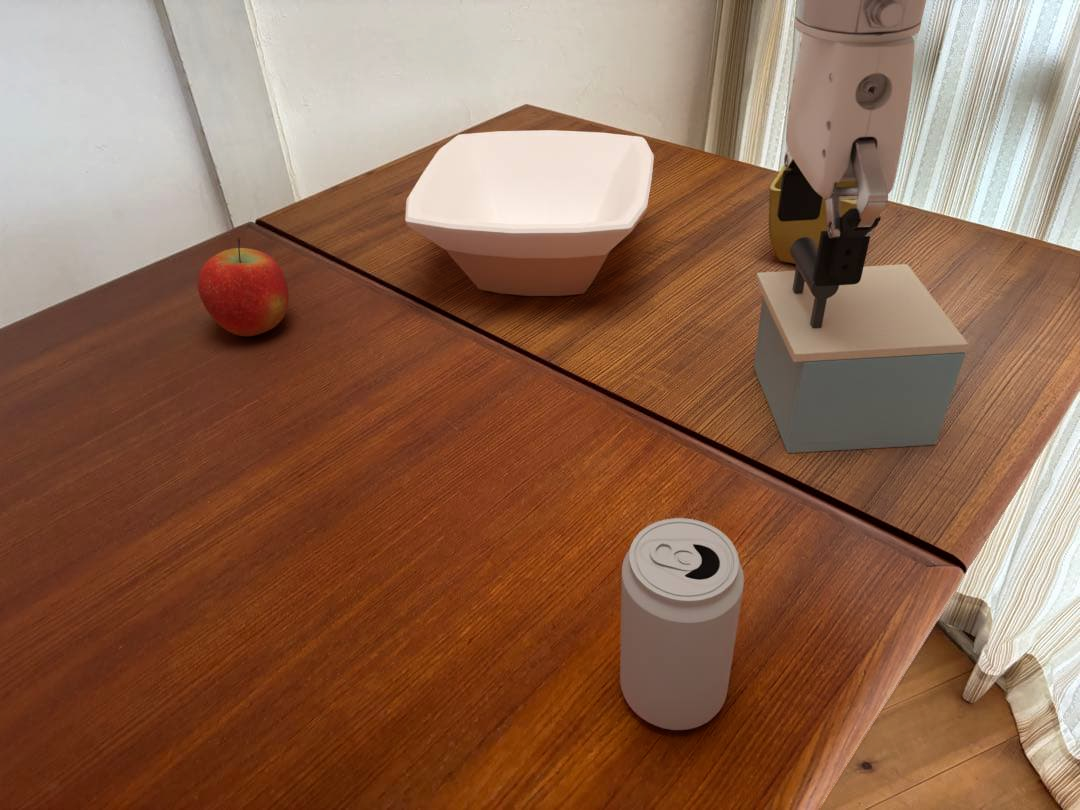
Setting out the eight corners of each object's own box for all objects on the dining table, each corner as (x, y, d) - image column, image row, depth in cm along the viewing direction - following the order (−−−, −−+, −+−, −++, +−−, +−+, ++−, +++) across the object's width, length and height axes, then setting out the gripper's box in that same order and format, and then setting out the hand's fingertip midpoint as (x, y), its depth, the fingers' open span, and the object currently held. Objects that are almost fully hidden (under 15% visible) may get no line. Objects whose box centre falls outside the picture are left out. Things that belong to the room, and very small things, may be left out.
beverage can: (716, 750, 48) (737, 618, 41) (607, 719, 50) (608, 588, 42) (733, 658, 53) (755, 525, 45) (633, 633, 54) (638, 501, 47)
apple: (212, 318, 87) (182, 230, 81) (292, 301, 89) (268, 213, 83) (217, 360, 81) (185, 268, 75) (302, 341, 83) (277, 250, 77)
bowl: (402, 322, 85) (386, 226, 78) (459, 213, 104) (449, 127, 97) (640, 334, 81) (644, 234, 75) (654, 218, 100) (657, 130, 94)
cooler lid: (793, 362, 62) (804, 299, 58) (755, 280, 71) (763, 221, 67) (965, 352, 62) (987, 288, 58) (905, 272, 71) (920, 212, 67)
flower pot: (858, 245, 93) (874, 167, 87) (842, 283, 87) (859, 201, 81) (777, 232, 96) (788, 155, 91) (757, 267, 90) (768, 188, 84)
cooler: (787, 453, 67) (804, 362, 62) (752, 366, 76) (764, 280, 71) (935, 445, 67) (965, 353, 62) (883, 359, 76) (905, 272, 71)
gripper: (983, 39, 45) (909, 309, 56) (873, -34, 59) (830, 195, 69) (843, 47, 45) (796, 316, 56) (765, -28, 59) (739, 200, 70)
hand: (815, 249), depth 63 cm, fingers open, 9 cm apart
